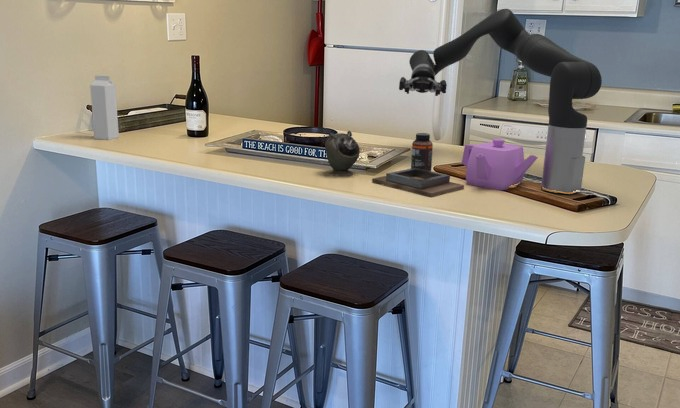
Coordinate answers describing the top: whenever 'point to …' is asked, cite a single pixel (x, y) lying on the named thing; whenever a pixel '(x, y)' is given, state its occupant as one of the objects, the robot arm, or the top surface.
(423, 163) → the supplement bottle
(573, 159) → the robot arm
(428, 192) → the dock board
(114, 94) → the milk
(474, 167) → the teakettle
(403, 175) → the socket collar
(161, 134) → the top surface
